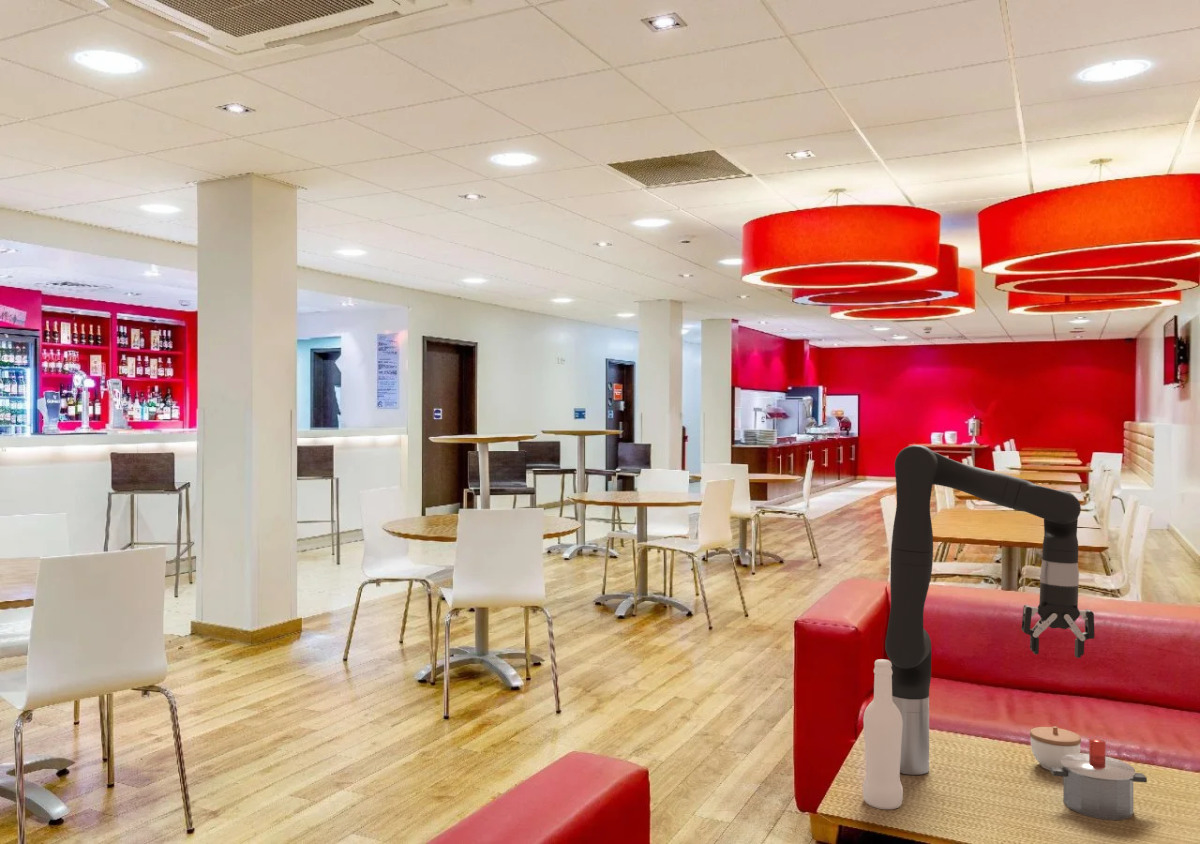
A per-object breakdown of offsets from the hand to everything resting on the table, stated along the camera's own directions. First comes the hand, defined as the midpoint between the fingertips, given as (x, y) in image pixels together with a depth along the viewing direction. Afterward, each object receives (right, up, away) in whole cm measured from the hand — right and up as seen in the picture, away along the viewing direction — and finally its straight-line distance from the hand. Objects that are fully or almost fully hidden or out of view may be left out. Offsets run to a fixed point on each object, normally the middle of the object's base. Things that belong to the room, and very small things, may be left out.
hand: (1056, 655), depth 201 cm
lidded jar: (+6, -30, +13) cm, 33 cm away
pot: (+4, -29, -9) cm, 31 cm away
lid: (+4, -22, -9) cm, 25 cm away
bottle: (-41, -29, -8) cm, 51 cm away
